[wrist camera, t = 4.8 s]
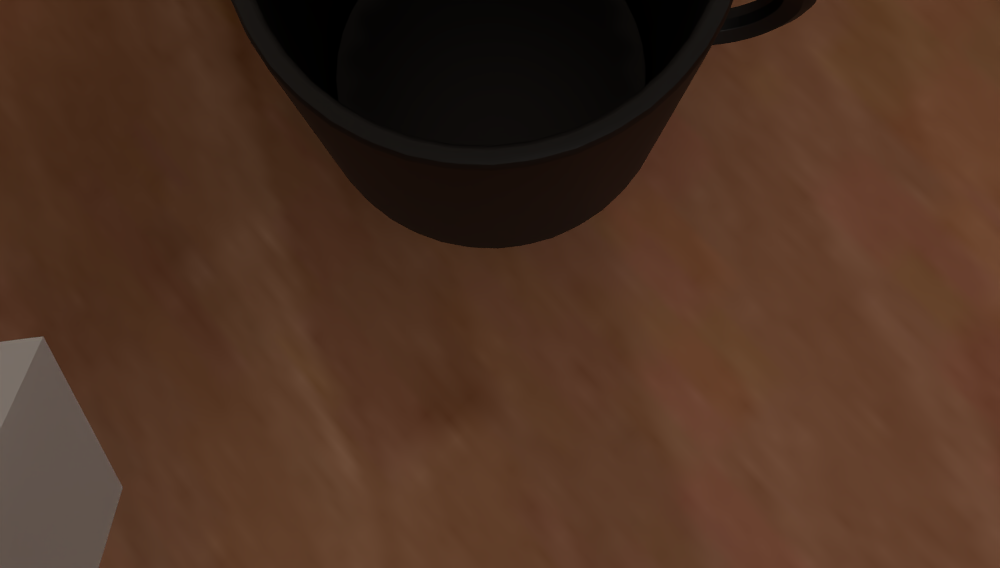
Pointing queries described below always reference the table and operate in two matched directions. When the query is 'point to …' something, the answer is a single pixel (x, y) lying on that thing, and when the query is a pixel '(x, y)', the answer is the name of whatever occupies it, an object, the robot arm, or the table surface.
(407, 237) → the table surface
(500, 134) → the mug
